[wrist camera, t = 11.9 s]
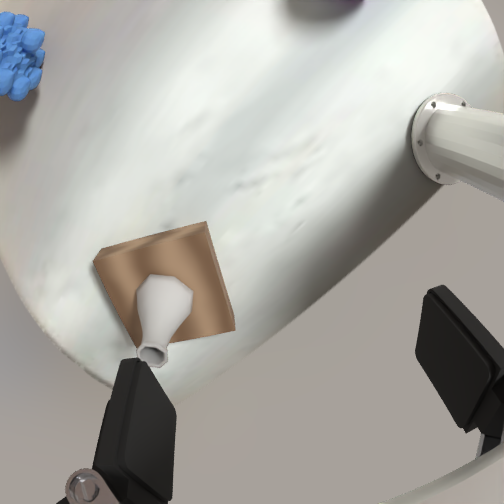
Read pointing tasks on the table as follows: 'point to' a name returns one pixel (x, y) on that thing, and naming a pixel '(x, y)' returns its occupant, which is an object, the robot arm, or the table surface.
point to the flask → (161, 315)
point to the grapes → (19, 56)
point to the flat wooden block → (169, 264)
